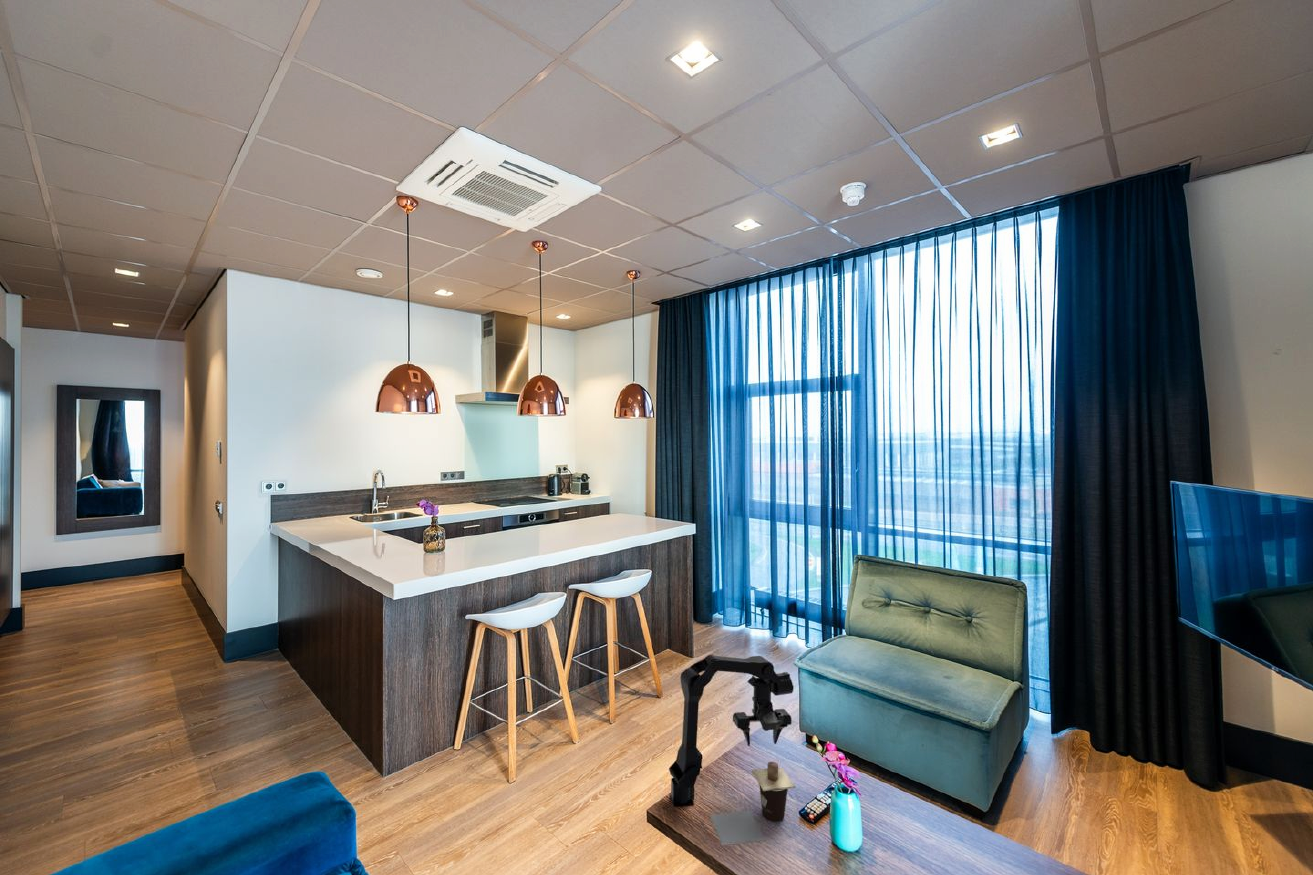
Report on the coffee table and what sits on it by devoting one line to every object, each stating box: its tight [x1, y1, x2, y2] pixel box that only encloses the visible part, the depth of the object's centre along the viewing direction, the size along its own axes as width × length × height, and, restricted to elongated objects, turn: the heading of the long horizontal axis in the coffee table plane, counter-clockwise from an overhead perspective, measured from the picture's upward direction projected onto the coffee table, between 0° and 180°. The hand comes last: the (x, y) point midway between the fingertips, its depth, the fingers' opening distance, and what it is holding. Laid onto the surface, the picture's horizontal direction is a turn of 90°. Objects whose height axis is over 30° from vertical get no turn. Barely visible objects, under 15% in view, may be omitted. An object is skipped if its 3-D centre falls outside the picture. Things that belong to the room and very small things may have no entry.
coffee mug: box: [758, 784, 788, 823], centre depth 168 cm, size 12×9×10 cm
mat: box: [709, 810, 767, 847], centre depth 160 cm, size 13×13×1 cm
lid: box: [750, 761, 796, 791], centre depth 168 cm, size 10×10×4 cm
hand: (761, 744), depth 182 cm, fingers open, 9 cm apart
